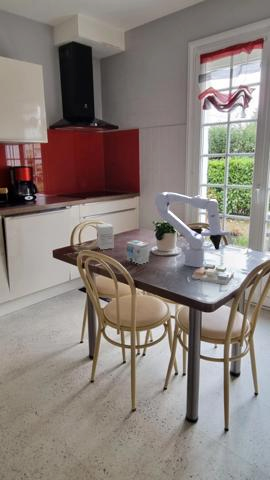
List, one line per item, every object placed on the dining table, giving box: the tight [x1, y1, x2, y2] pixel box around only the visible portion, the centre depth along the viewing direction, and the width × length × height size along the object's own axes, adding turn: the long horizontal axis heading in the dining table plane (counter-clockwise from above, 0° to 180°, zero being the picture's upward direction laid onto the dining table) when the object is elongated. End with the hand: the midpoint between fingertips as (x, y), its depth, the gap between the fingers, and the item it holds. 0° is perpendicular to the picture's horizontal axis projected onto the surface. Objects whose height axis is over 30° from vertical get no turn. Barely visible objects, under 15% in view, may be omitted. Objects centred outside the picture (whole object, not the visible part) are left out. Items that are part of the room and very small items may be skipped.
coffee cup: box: [189, 225, 204, 234], centre depth 202 cm, size 9×8×13 cm
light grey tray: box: [191, 266, 235, 285], centre depth 155 cm, size 16×13×2 cm
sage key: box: [215, 265, 227, 272], centre depth 156 cm, size 4×4×2 cm
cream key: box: [206, 268, 217, 275], centre depth 152 cm, size 4×4×2 cm
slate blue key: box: [217, 273, 229, 280], centre depth 150 cm, size 4×4×2 cm
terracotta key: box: [193, 268, 205, 276], centre depth 155 cm, size 4×4×2 cm
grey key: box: [203, 263, 216, 270], centre depth 159 cm, size 4×4×2 cm
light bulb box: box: [126, 239, 150, 265], centre depth 178 cm, size 11×7×11 cm, turn 45°
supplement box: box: [96, 222, 115, 249], centre depth 204 cm, size 9×9×15 cm
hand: (217, 249), depth 167 cm, fingers closed
